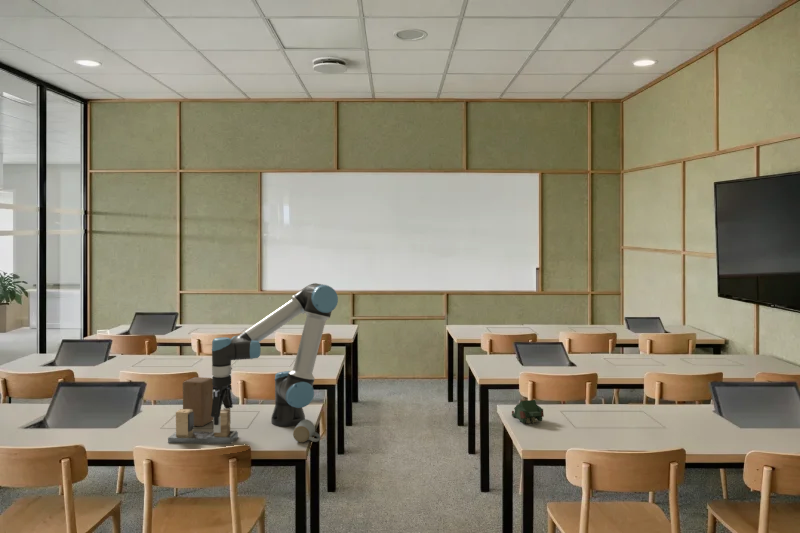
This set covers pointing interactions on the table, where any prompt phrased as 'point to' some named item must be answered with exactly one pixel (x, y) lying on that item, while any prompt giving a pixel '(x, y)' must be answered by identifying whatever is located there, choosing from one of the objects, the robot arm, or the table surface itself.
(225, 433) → the finger block
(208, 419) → the wooden block
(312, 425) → the ceramic mug
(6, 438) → the table surface
